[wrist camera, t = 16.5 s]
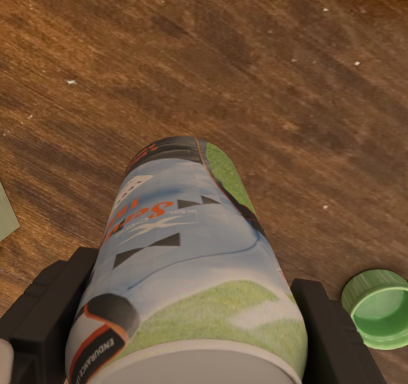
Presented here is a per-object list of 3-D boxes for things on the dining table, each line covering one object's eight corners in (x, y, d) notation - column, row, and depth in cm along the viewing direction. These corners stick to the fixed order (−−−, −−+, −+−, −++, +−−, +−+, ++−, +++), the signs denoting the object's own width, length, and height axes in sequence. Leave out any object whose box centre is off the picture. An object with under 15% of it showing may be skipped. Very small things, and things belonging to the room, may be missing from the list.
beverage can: (156, 109, 16) (4, 216, 4) (282, 174, 17) (415, 392, 5) (112, 210, 18) (-63, 450, 7) (226, 261, 19) (239, 545, 8)
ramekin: (404, 321, 40) (424, 349, 36) (333, 322, 41) (345, 350, 37) (416, 263, 37) (440, 286, 33) (339, 265, 38) (353, 288, 34)
